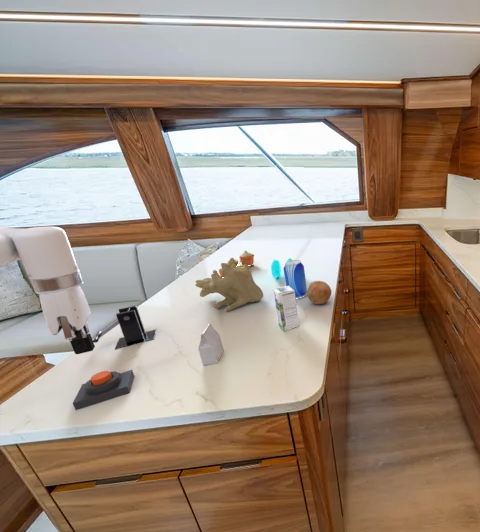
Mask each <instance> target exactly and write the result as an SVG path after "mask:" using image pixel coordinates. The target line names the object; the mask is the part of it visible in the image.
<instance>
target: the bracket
mask: <svg viewBox="0 0 480 532" xmlns="http://www.w3.org/2000/svg"><path fill="white" fill-rule="evenodd" d="M129 308H130V309H131V311H127V310H128V309H129ZM125 311H127V312H125ZM115 316H116V319H117V320H118V322H119V324H118V325H119V327H120V330H121V332H122V335H123V337H119V338H118V340H117V343H116V345H115V347H114V350H119V349H123V348H127V347H131V346H135V345H138V344H142V343H147V342H151V341H154V340H155V338H156V334H157V329H151V330H148V331H146V329H145V328H144V324H143V321H142V317H141V315H140V312H139V309H138V306H137V305H132V306H127V307H121V308H118V312H117V313H116V314H115Z"/></svg>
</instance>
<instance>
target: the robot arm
mask: <svg viewBox="0 0 480 532" xmlns="http://www.w3.org/2000/svg"><path fill="white" fill-rule="evenodd" d="M17 261H21V263H22V265H23V267H24V270H25V272H26V275H27V276H28V279H29V281H30V283H31V287H32V288H33V290H34V293H35V294H37V295H38V297H39V302H40V306H41V311H42V313H43V317H44V319H45V323H46V325H47V328H48V331H49V333H50V335H52V336H57V335H58V334H59V333H60V332H61V331H62V333H63V336H64V340H66V341H67V340H68V341H69V343H70V345H71V348H72V350H73V352H74V354H75V355H80V354H85V353H90V352H93V351H94V349H95V347H96V345H95V343H94V342H93V340H94V339H93V338H92V335H91V333H90V329H89V326H88V325H89V324H88V321H89V319H90V318H91V316H92V313H91V308H90V305H89V302H88V300H87V298H86V295H85V293H84V291H83V288H82V287H81V286H82V285H84V284H85V283H84V280H83V277H82V274H81V271H80V269H79V265H78V264H77V261H76V258H75V255H74V252H73V250H72V247H71V243H70V241H69V239H68V236H67V234H66V232H65V230H64V229H63V228H61V227H58V226H52V225H51V226H48V225H47V226H34V227H33V226H32V227H27V228H17V227H0V267H2V266H4V265H8V264H11V263H15V262H17Z"/></svg>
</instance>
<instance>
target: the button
mask: <svg viewBox="0 0 480 532" xmlns="http://www.w3.org/2000/svg"><path fill="white" fill-rule="evenodd" d="M110 372H111V371H110V370H102V371H99V372H97V373H95V374H93V375H92V376H91V377H90V379H91V381H92V384H93V385H99V384H103V383H105V382H107V381H109V380H110V379H112V376H111V373H110Z"/></svg>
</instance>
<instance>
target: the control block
mask: <svg viewBox="0 0 480 532" xmlns="http://www.w3.org/2000/svg"><path fill="white" fill-rule="evenodd" d="M110 373H111V376H112V379H110V380H109V381H107V382H105V383H103V384H99V385H93V384H92V381H91V378H90V379H88V380H87V381H86V382H84V383H82V384H81V385H80V388H79V390H78V392H77V394H76V396H75V398H74V400H73V402H72V405H73V407H74V410H75V411H78V410H82V409H85V408H88V407H91V406H94V405H97V404H100V403H103V402H107V401H110V400H112V399H116V398H120V397H122V396H126V395H128V394H131V390H132V387H133V383H134V379H135V374H134V371H133V369H130V370H127V371H123V372H119V371H110Z"/></svg>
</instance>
